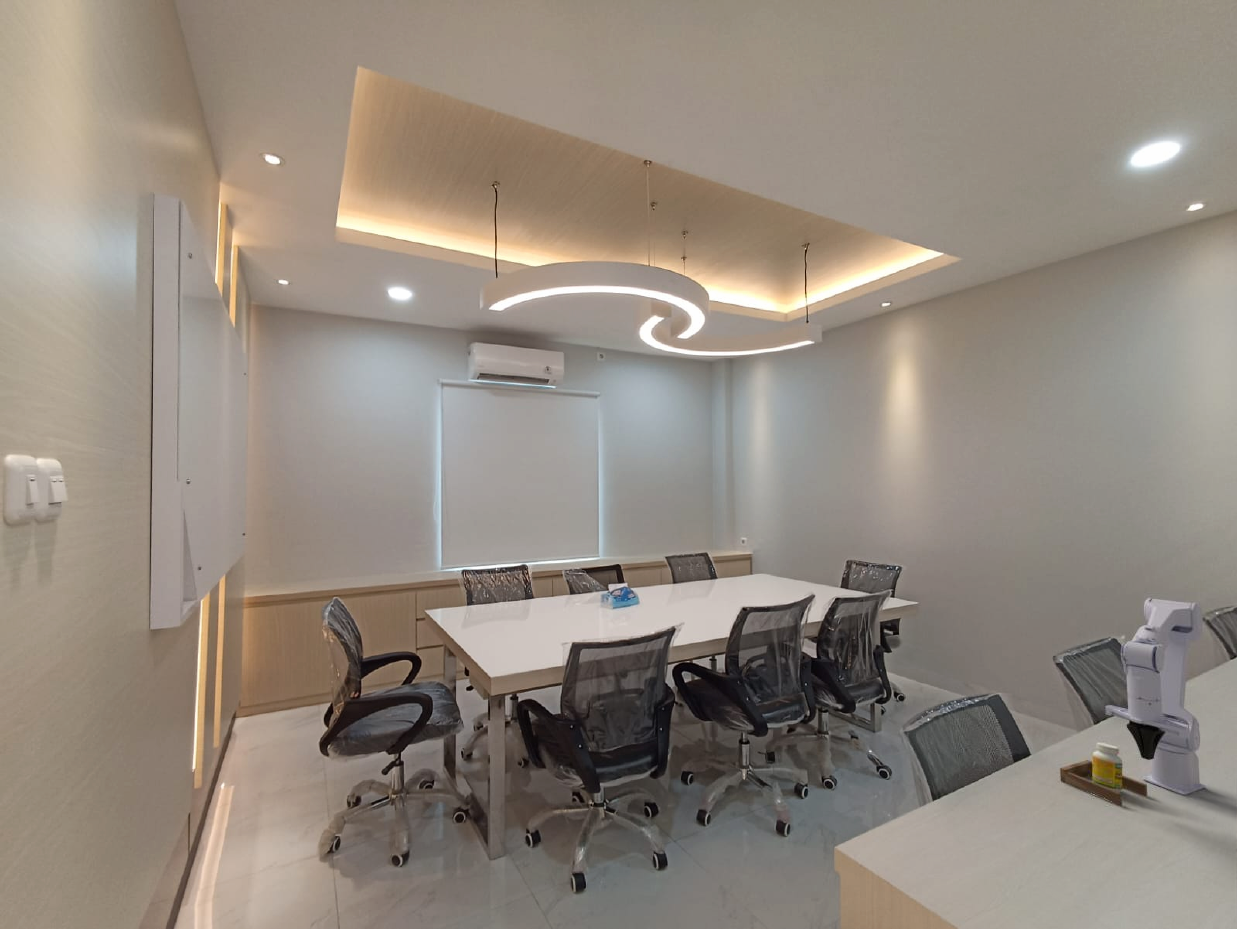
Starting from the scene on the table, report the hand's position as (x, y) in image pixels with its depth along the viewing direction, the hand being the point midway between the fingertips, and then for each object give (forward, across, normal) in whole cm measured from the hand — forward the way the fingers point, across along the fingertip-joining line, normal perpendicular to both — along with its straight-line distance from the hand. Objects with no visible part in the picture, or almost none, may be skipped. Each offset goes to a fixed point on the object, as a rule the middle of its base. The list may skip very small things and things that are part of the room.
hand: (1147, 758), depth 128 cm
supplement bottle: (+10, -8, -1) cm, 13 cm away
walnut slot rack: (+10, -8, -1) cm, 13 cm away
